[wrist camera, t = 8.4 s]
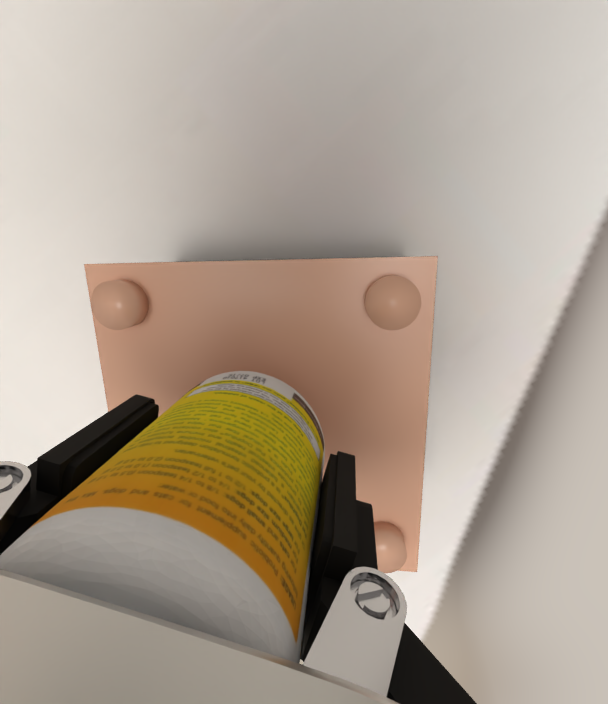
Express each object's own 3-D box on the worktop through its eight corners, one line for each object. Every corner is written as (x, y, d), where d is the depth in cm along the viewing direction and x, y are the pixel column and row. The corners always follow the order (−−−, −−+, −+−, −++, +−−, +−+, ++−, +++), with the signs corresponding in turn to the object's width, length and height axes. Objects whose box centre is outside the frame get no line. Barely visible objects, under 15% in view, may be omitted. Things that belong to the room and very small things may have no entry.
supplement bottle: (181, 354, 13) (-333, 656, 3) (337, 379, 13) (292, 819, 3) (176, 489, 15) (-185, 977, 5) (315, 515, 14) (236, 1117, 4)
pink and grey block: (175, 262, 21) (68, 264, 13) (405, 256, 20) (443, 255, 12) (196, 462, 25) (121, 563, 16) (395, 471, 23) (420, 588, 15)
